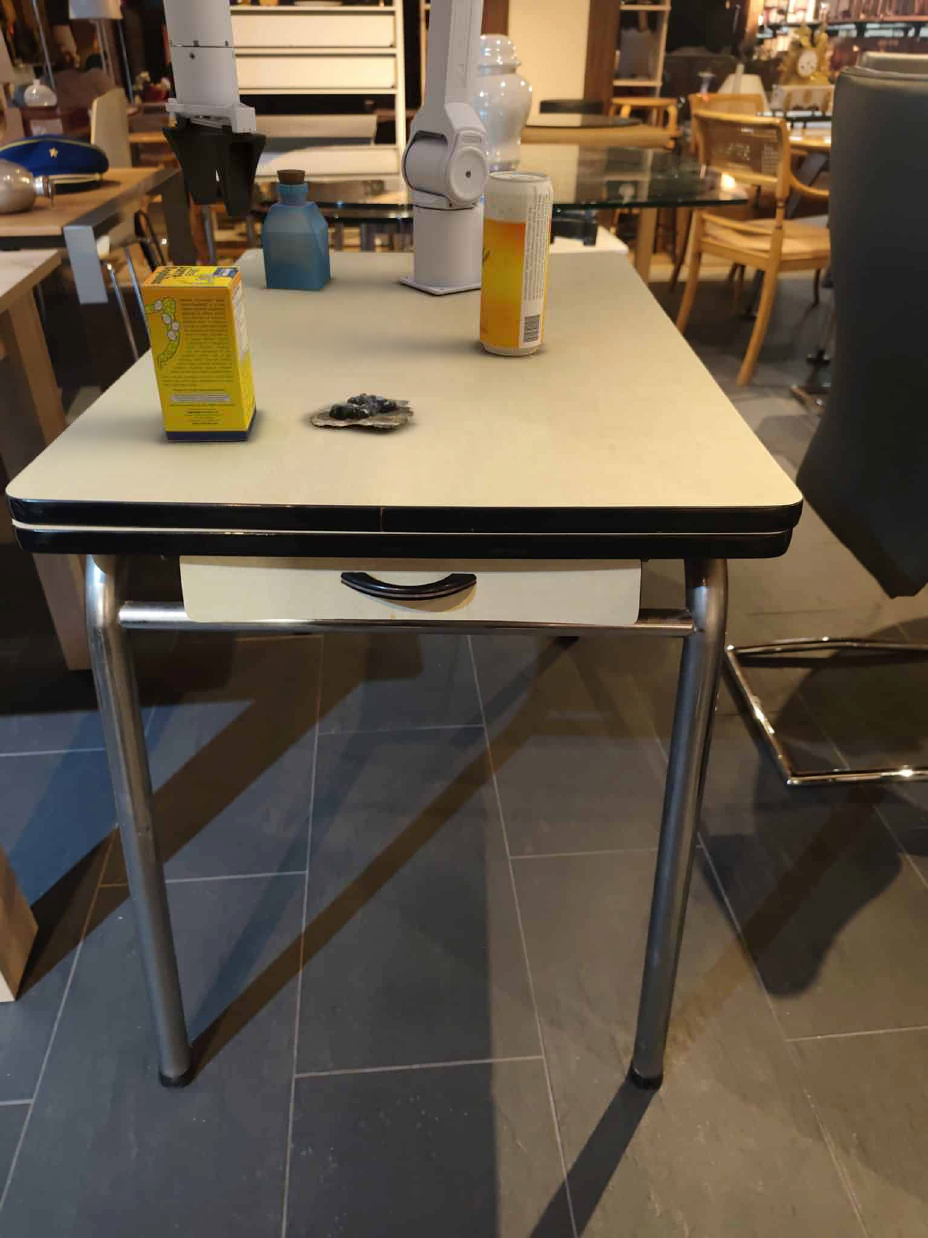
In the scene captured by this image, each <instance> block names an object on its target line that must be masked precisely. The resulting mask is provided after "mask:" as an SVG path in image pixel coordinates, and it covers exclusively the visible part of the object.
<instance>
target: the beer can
mask: <svg viewBox="0 0 928 1238" xmlns="http://www.w3.org/2000/svg"><path fill="white" fill-rule="evenodd" d="M483 203H484V210H483V241H482V272H481V288H480V305H479V307H480V308H479V333H478V334H479V336H478V337H479V338H478V339H479V341H480V342H481V343H482V345H483V347H484V350H485V351H487V352H489V353H492V354H495V355H498V356H499V355H500V356H507V357H508V356H509V357H510V356H511V357H516V356H519V357H520V356H527V355H531V354H533V353H535V352H536V351H537V350H538V347H539V346H540V345H542V344H543V341H544V329H545V315H546V313H545V312H546V303H547V302H546V299H547V288H548V287H547V285H548V273H549V262H550V261H549V259H550V247H551V246H550V244H551V231H552V217H553V215H552V214H553V203H554V189H553V185H552V183H551V176H550V175H549V174H546V173H543V172H535V171H523V170H522V171H521V170H507V171H505V170H504V171H503V170H502V171H493V172H490V174H489V179H488V181H487V183H486V186H485V188H484V194H483Z"/></svg>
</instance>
